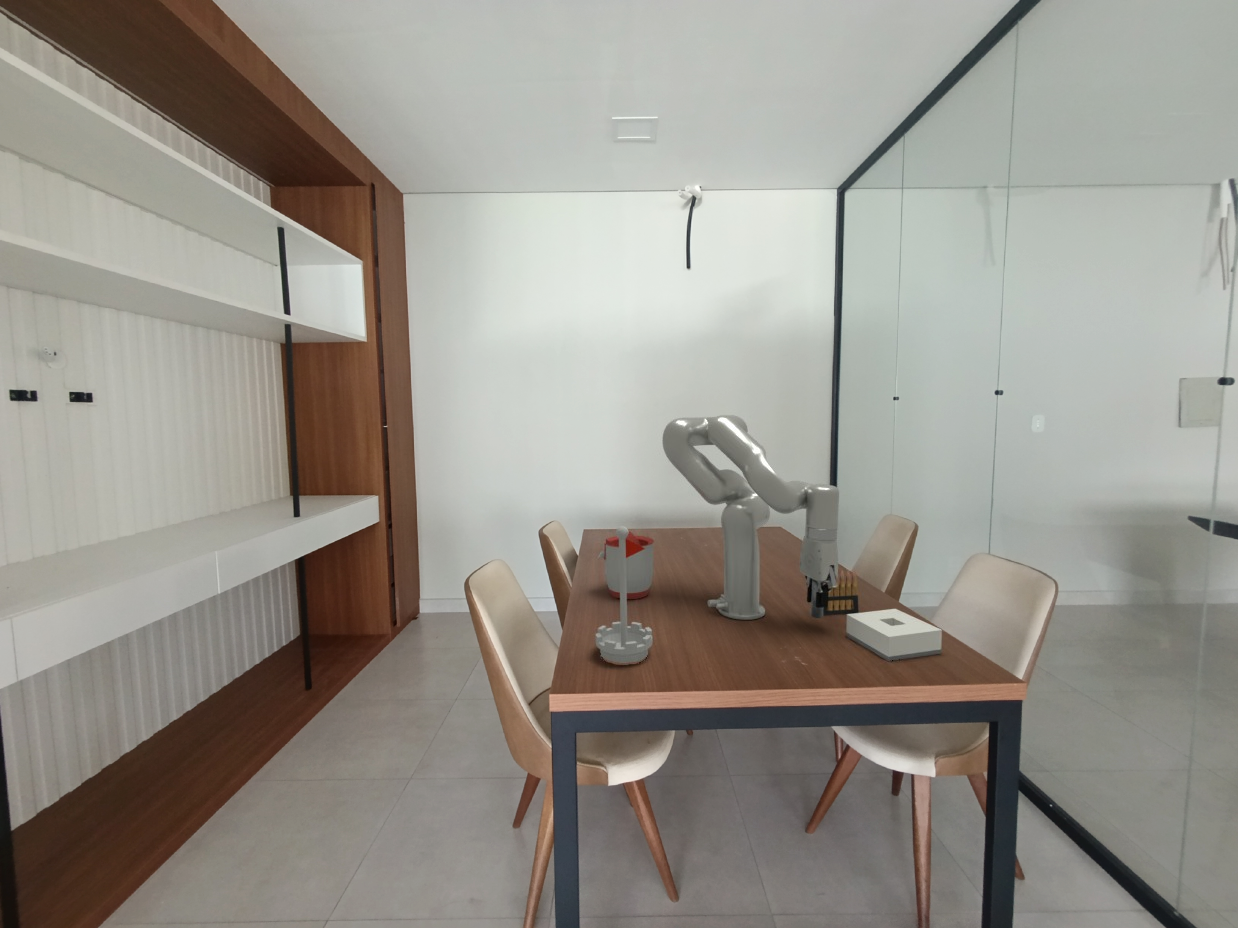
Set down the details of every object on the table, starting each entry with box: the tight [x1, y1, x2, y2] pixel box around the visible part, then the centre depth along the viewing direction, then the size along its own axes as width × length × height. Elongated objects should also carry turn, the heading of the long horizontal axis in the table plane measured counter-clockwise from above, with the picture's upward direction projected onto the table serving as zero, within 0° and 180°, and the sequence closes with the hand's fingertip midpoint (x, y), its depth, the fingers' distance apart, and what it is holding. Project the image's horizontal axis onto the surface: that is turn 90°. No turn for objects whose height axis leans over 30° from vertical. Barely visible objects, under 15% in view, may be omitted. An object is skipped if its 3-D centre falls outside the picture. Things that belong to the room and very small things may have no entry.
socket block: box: [846, 608, 943, 662], centre depth 123 cm, size 14×14×6 cm
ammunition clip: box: [823, 569, 860, 616], centre depth 143 cm, size 11×2×12 cm, turn 96°
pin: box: [810, 579, 825, 619], centre depth 133 cm, size 3×3×10 cm
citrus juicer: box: [597, 530, 655, 600], centre depth 162 cm, size 16×17×20 cm
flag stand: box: [595, 525, 653, 663], centre depth 119 cm, size 13×13×30 cm
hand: (817, 603), depth 133 cm, fingers closed on pin, 3 cm apart
